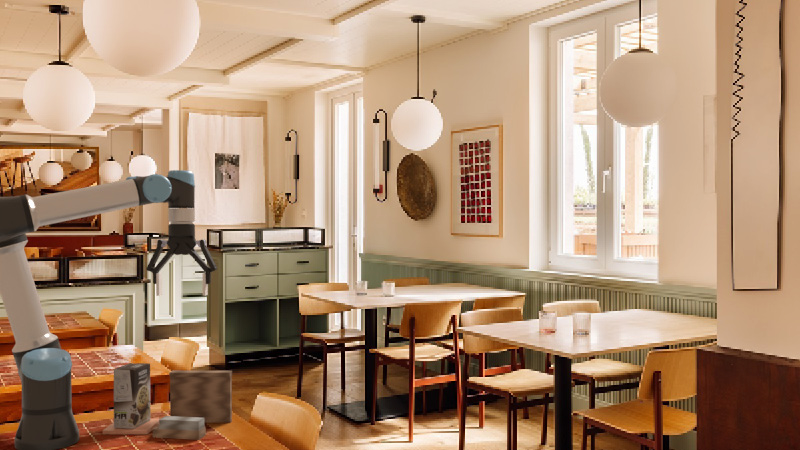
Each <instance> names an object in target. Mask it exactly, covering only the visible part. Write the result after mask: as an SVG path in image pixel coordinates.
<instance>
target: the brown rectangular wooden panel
mask: <svg viewBox="0 0 800 450" xmlns="http://www.w3.org/2000/svg"><path fill="white" fill-rule="evenodd" d="M168 376H169V386H170V387H169V388H170V389H169V397H170V399H169V401H170V405H169V406H170V407H169V410H170V411H169V412H170V413H169V414H170V415H169V416H178V417H200V418H204V423H232V422H233V411H232V410H233V408H232V406H233V405H232V404H233V402H232V401H233V395H232V394H233V393H232V392H233V390H232V388H233V387H232V386H233V383H232V382H233V381H232V377H233V370H180V369H179V370H175V369H174V370H171V371H170V372H169V374H168Z"/></svg>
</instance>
